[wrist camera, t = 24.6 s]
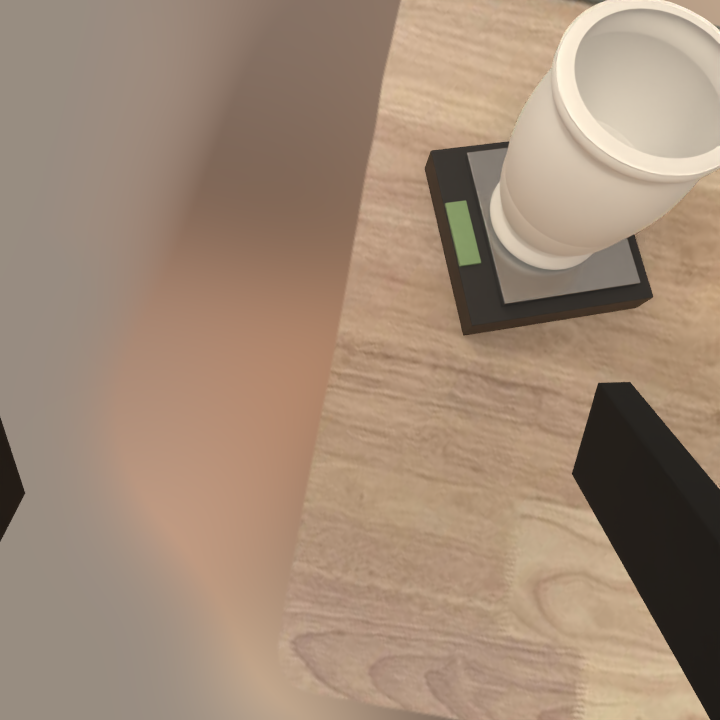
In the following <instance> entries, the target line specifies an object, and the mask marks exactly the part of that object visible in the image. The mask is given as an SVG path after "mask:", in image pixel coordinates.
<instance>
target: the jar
mask: <svg viewBox="0 0 720 720" xmlns="http://www.w3.org/2000/svg"><path fill="white" fill-rule="evenodd" d="M719 168H720V30H719V29H718V28H716V27H715V26H714V25H713V24H711V23H710V22H709V21H707V20H706V19H704V18H703V17H701V16H700V15H698V14H696V13H694V12H693V11H691V10H689V9H687V8H684V7H682V6H679V5H677V4H674V3H671V2H668V1H665V0H607V1H604V2H601V3H599V4H597V5H594V6H593V7H591V8H589V9H587V10H586V11H584V12H583V13H582V14H580V15H579V16H578V17H577V18H576V19H575V20H574V21H573V22H572V23H571V24H570V26H569V27H568V28H567V30H566V31H565V33H564V35H563V37H562V39H561V41H560V43H559V45H558V47H557V50H556V52H555V55H554V59H553V63H552V68H551V69H550V70H549V71H548V72H547V73H546V75H545V76H544V77H543V78H542V80H541V81H540V82H539V84H538V85H537V86H536V88H535V89H534V91H533V92H532V94H531V95H530V97H529V98H528V100H527V102H526V103H525V105H524V107H523V109H522V111H521V113H520V115H519V117H518V119H517V122H516V124H515V127H514V129H513V132H512V135H511V138H510V142H509V146H508V150H507V154H506V157H505V160H504V163H503V167H502V172H501V178H500V182H499V183H498V184H497V186H496V188H495V190H494V192H493V195H492V198H491V203H490V216H491V222H492V225H493V228H494V231H495V233H496V235H497V237H498V238H499V240H500V241H501V243H502V244H503V245H504V247H505V248H506V249H507V250H508V251H509V252H510V253H511V254H513V255H514V256H515V257H517V258H518V259H520V260H521V261H523V262H525V263H527V264H529V265H532V266H534V267H538V268H542V269H548V270H560V269H567V268H571V267H574V266H576V265H578V264H580V263H582V262H584V261H585V260H586V259H588V258H589V257H590V256H591V255H592V254H593V253H594V252H597V251H600V250H603V249H605V248H607V247H610V246H612V245H614V244H616V243H617V242H619V241H621V240H623V239H625V238H628V237H630V236H632V235H634V234H636V233H638V232H639V231H641V230H643V229H645V228H646V227H648V226H650V225H651V224H653V223H654V222H656V221H657V220H658V219H660V218H661V217H662V216H664V215H665V214H666V213H667V212H669V211H670V210H671V209H672V208H673V207H674V206H676V205H677V204H678V203H679V202H680V201H681V200H682V199H683V198H684V197H685V196H686V195H687V194H688V192H689V191H690V190H691V189H692V188H693V187H694V186H695V184H696V183H697V182H698V181H699V180H700V178H702V177H704V176H707V175H709V174H711V173H713V172H714V171H716V170H718V169H719Z"/></svg>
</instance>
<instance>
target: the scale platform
mask: <svg viewBox="0 0 720 720" xmlns="http://www.w3.org/2000/svg"><path fill="white" fill-rule="evenodd" d="M507 150H508V148H502V149H493V150H485V151H477V152H468V153H467V154H466V156H465V161H466V166H467V170H468V174H469V178H470V182H471V186H472V190H473V194H474V198H475V202H476V206H477V210H478V214H479V218H480V222H481V226H482V230H483V234H484V238H485V242H486V246H487V250H488V254H489V258H490V262H491V266H492V270H493V275H494V279H495V283H496V287H497V291H498V295H499V299H500V303H501V306H502V307H505V306H511V305H518V304H524V303H531V302H537V301H544V300H550V299H556V298H563V297H569V296H576V295H582V294H589V293H595V292H602V291H608V290H615V289H621V288H627V287H634V286H636V285H638V284H639V283H640V279H639V276H638V273H637V269H636V266H635V263H634V259H633V256H632V253H631V249H630V246H629V243H628V240H627V238H625V239H623V240H621V241H619V242H617V243H616V244H614V245H612V246H610V247H607V248H605V249H603V250H600V251H597V252H594V253H593V254H592V255H591V256H590V257H589V258H588V259H586V260H585V261H584V262H582V263H580V264H578V265H576V266H574V267H571V268H567V269H560V270H548V269H542V268H538V267H534V266H532V265H529V264H527V263H525V262H523V261H521V260H520V259H518V258H517V257H515V256H514V255H513V254H511V253H510V252H509V251H508V250H507V249H506V248H505V247H504V245H503V244H502V243H501V241H500V240H499V238H498V237H497V235H496V233H495V231H494V228H493V225H492V222H491V216H490V203H491V198H492V195H493V192H494V190H495V188H496V186H497V184H498V183H499V182H500V178H501V172H502V167H503V163H504V160H505V157H506V154H507Z"/></svg>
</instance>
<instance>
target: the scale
mask: <svg viewBox="0 0 720 720" xmlns="http://www.w3.org/2000/svg"><path fill="white" fill-rule="evenodd" d="M509 142H510V141H509ZM509 142H501V143H492V144H484V145H476V146H467V147H459V148H450V149H442V150H433V151H431V152H430V155H429V158H428V161H427V163H426V166H425V172H426V176H427V180H428V185H429V189H430V193H431V198H432V202H433V206H434V210H435V215H436V219H437V223H438V228H439V232H440V236H441V241H442V245H443V249H444V254H445V258H446V262H447V267H448V271H449V275H450V280H451V284H452V288H453V293H454V297H455V301H456V306H457V310H458V314H459V319H460V323H461V327H462V332H463V335H469V334H475V333H481V332H487V331H494V330H500V329H506V328H512V327H519V326H525V325H531V324H538V323H544V322H550V321H556V320H563V319H569V318H575V317H581V316H588V315H594V314H600V313H606V312H613V311H619V310H625V309H631V308H636V307H638V306H640V305H641V304H643V303H644V302H646V301H648V300H649V299H651V298H653V294H652V291H651V288H650V285H649V281H648V278H647V275H646V272H645V268H644V265H643V262H642V258H641V255H640V252H639V249H638V245H637V242H636V239H635V235H632V236H630V237H628V238H627V240H628V243H629V246H630V249H631V253H632V256H633V259H634V263H635V266H636V269H637V273H638V276H639V279H640V283H639V284H638V285H636V286H634V287H627V288H621V289H615V290H608V291H602V292H595V293H589V294H582V295H576V296H569V297H563V298H556V299H550V300H544V301H537V302H531V303H524V304H518V305H511V306H505V307H502V306H501V303H500V299H499V295H498V291H497V287H496V283H495V279H494V275H493V270H492V266H491V262H490V258H489V254H488V250H487V246H486V242H485V238H484V234H483V230H482V226H481V222H480V218H479V214H478V210H477V206H476V202H475V198H474V194H473V190H472V186H471V182H470V178H469V174H468V170H467V166H466V161H465V156H466V154H467V153H468V152H477V151H485V150H493V149H502V148H508V146H509Z"/></svg>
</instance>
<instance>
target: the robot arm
mask: <svg viewBox="0 0 720 720" xmlns="http://www.w3.org/2000/svg"><path fill="white" fill-rule="evenodd" d="M572 475H573V477H574V478H575V480H576V482H577V484H578V486H579V487H580V489H581V491H582V493H583V494H584V496H585V498H586V500H587V501H588V503H589V505H590V507H591V509H592V510H593V512H594V514H595V516H596V517H597V519H598V521H599V523H600V525H601V526H602V528H603V530H604V532H605V533H606V535H607V537H608V539H609V541H610V542H611V544H612V546H613V548H614V549H615V551H616V553H617V555H618V556H619V558H620V560H621V562H622V564H623V565H624V567H625V569H626V571H627V572H628V574H629V576H630V578H631V580H632V581H633V583H634V585H635V587H636V588H637V590H638V592H639V594H640V596H641V597H642V599H643V601H644V603H645V604H646V606H647V608H648V610H649V611H650V613H651V615H652V617H653V619H654V620H655V622H656V624H657V626H658V627H659V629H660V631H661V633H662V635H663V636H664V638H665V640H666V642H667V643H668V645H669V647H670V649H671V651H672V652H673V654H674V656H675V658H676V659H677V661H678V663H679V665H680V666H681V668H682V670H683V672H684V674H685V675H686V677H687V679H688V681H689V682H690V684H691V686H692V688H693V690H694V691H695V693H696V695H697V697H698V698H699V700H700V702H701V704H702V706H703V707H704V709H705V711H706V713H707V714H708V716H709V718H710V720H720V489H719V488H718V487H717V486H716V485H715V483H714V482H713V481H712V480H711V479H710V477H709V476H708V475H707V474H706V473H705V471H704V470H703V469H702V468H701V467H700V465H699V464H698V463H697V462H696V461H695V459H694V458H693V457H692V456H691V455H690V453H689V452H688V451H687V450H686V449H685V447H684V446H683V445H682V444H681V443H680V441H679V440H678V439H677V438H676V437H675V435H674V434H673V433H672V432H671V431H670V429H669V428H668V427H667V426H666V425H665V423H664V422H663V421H662V420H661V419H660V417H659V416H658V415H657V414H656V413H655V411H654V410H653V409H652V408H651V407H650V405H649V404H648V403H647V402H646V401H645V399H644V398H643V397H642V396H641V395H640V393H639V392H638V391H637V390H636V389H635V387H634V386H633V385H632V384H631V383H630V382H616V383H598V386H597V389H596V393H595V396H594V400H593V403H592V407H591V410H590V413H589V417H588V420H587V424H586V427H585V431H584V434H583V438H582V441H581V445H580V448H579V451H578V455H577V458H576V462H575V465H574V469H573V472H572ZM24 494H25V492H24V488H23V485H22V482H21V479H20V476H19V473H18V470H17V467H16V464H15V461H14V458H13V455H12V452H11V448H10V446H9V442H8V440H7V437H6V434H5V430H4V427H3V424H2V421H1V418H0V541H1V539H2V537H3V535H4V533H5V531H6V529H7V527H8V526H9V524H10V522H11V520H12V518H13V516H14V514H15V512H16V510H17V508H18V506H19V504H20V502H21V500H22V498H23V496H24Z"/></svg>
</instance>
